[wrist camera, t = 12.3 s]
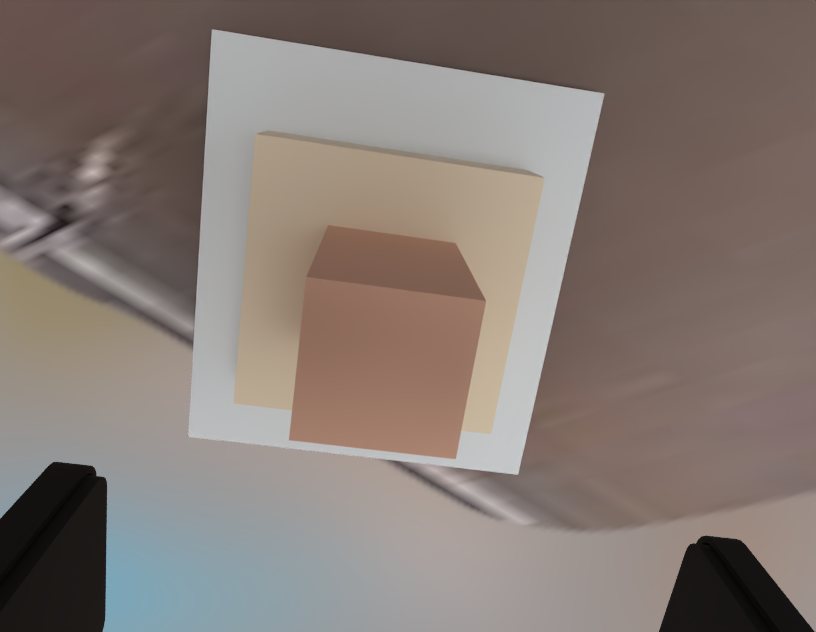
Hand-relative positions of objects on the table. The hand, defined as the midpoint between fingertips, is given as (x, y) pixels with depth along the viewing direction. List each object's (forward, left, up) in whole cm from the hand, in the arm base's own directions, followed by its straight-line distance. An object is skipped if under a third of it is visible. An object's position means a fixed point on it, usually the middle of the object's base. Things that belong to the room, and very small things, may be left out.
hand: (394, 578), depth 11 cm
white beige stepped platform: (0, 0, -21) cm, 21 cm away
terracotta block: (0, 0, -17) cm, 17 cm away
